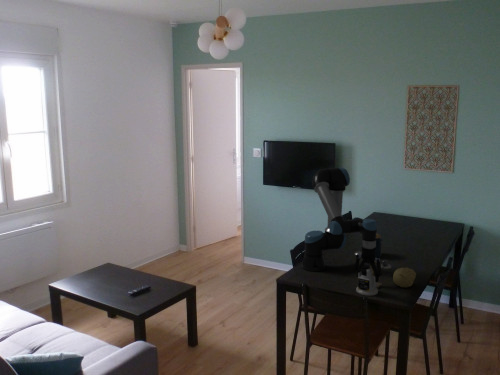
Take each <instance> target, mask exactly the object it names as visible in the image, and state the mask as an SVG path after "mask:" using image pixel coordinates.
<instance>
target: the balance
mask: <svg viewBox="0 0 500 375" xmlns="http://www.w3.org/2000/svg"><path fill="white" fill-rule="evenodd" d="M353 254H354V255H355V256H356V255H357V254H362V250H360V251H359V250H358V251H354V252H353ZM381 261H382V262H381V263H380V264H381V269H382V270H383V269H384V270H389V269H391V268H392V265H391V264H389V261H388V260H387V259H381ZM374 262H375V265H376V266H377V264H376V263H377V262H376V260H374ZM369 268H370V269H372V266H371V265H370V264H369ZM372 276H375V274H374V271H373V269H372ZM380 287H382V282H379V281H378V282H377V287H375V288H377V289H378V290H379V288H380Z"/></svg>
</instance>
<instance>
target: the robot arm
mask: <svg viewBox="0 0 500 375" xmlns="http://www.w3.org/2000/svg"><path fill="white" fill-rule="evenodd" d="M350 180H351V178H350V175H349V171H348V170H347V169H346V168H344V167H332V168H330V167H329V168H320V169H319V170H316V172H315V173H314V175H313V177H312V188H313V190H314V192H315V193H317V195H318V197H319V200H320V202H321V204H322V206H323V208H324V211H325V213H326V215H327V226H326V227H325V228H324V232H323V230H311V231H308V232H306V233H305V235H304V256H303V259H302V262H301V268H302V269H303V270H305V271H310V272H319V271H323V270H325V269H326V263H325V259H324V252H325V251H326V252H327V251H328V252H329V251H338V250H341V249H343V248H345V246H346V244H347V237H346V236H347V235H346V234H355V233H359V234H361V235H362V236H361V237H362V239H361V246H362V247H361V251H362V254H357V255H355V257H356V259H355V263H354V267H353V270H354V271H355V272H356V278H358V277H360V276H361V269H362V268H364V265H365V264H369V266H370V265H371V266H372V269H373V271H374V287H373V288H375V287H377V282H378V283H379V281H380V280H379V278H380V277H382V276H383V272H382V270H383V269H382V268H381V264H382V263H381V261H382V259H381V257H379V258H376V256H375V253H376V248H375V247H376V233H377V232H378V231H377V230H378V226H377V225H378V224H377V220H375V219H372V218H365V219H363V218H362V217H358V216H356V217H354V218H352V219H346V220H345V218H344V217H343V214H342V213H343V195H344V192H345V191H346V188H347V187H348V186H349V185H350V183H351V182H350ZM361 259H362V260H361ZM360 261H361V262H360ZM374 261H376V262H377V263H376V264H377V265H376V264H375V262H374Z"/></svg>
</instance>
